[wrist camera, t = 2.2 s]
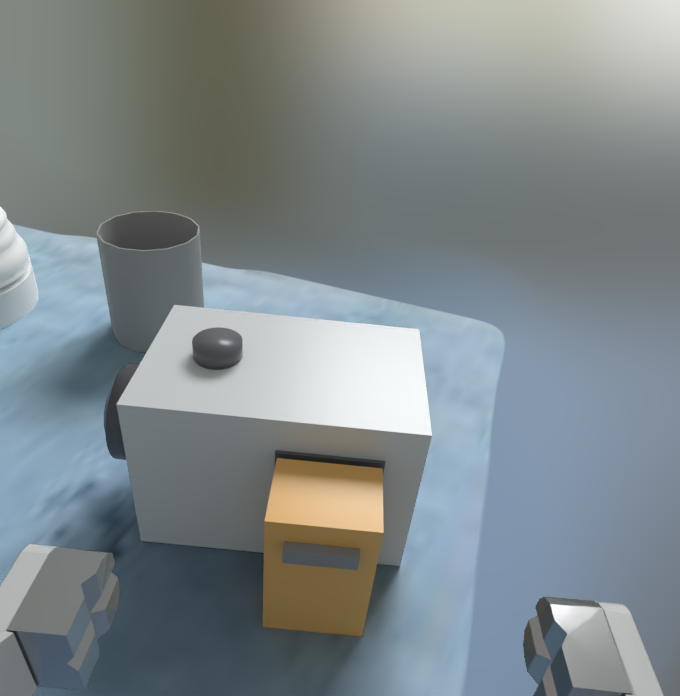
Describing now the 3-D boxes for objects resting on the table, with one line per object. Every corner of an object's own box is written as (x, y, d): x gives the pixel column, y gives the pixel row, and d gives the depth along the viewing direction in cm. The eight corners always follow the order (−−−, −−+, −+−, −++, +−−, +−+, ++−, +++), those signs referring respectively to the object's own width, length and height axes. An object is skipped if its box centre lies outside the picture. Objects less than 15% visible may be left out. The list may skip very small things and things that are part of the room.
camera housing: (400, 569, 35) (435, 423, 28) (97, 539, 35) (59, 386, 28) (395, 450, 43) (421, 316, 36) (151, 426, 43) (132, 287, 36)
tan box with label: (362, 645, 31) (383, 542, 26) (261, 635, 31) (262, 530, 26) (363, 571, 34) (382, 468, 29) (273, 563, 34) (276, 457, 29)
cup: (175, 362, 50) (165, 258, 44) (94, 340, 51) (74, 238, 46) (219, 316, 57) (216, 221, 51) (146, 298, 58) (135, 204, 52)
